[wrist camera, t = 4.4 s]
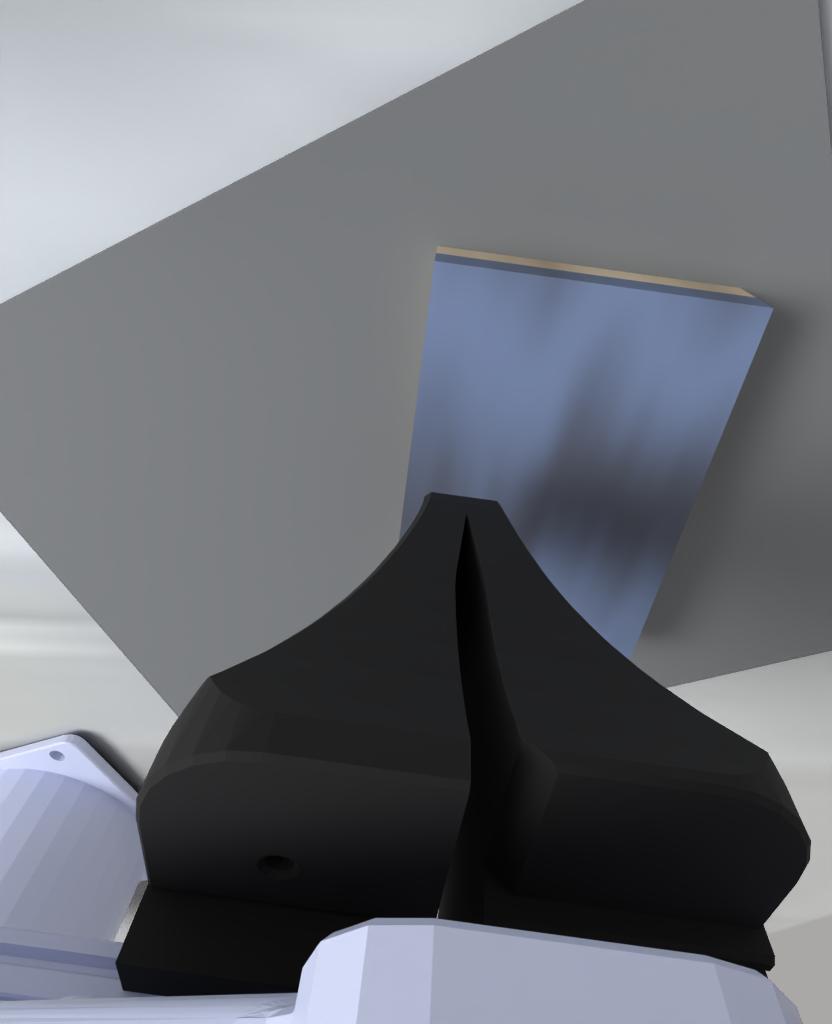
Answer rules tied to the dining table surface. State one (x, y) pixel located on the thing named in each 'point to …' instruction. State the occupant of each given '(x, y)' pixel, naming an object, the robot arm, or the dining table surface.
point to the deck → (579, 414)
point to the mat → (401, 331)
